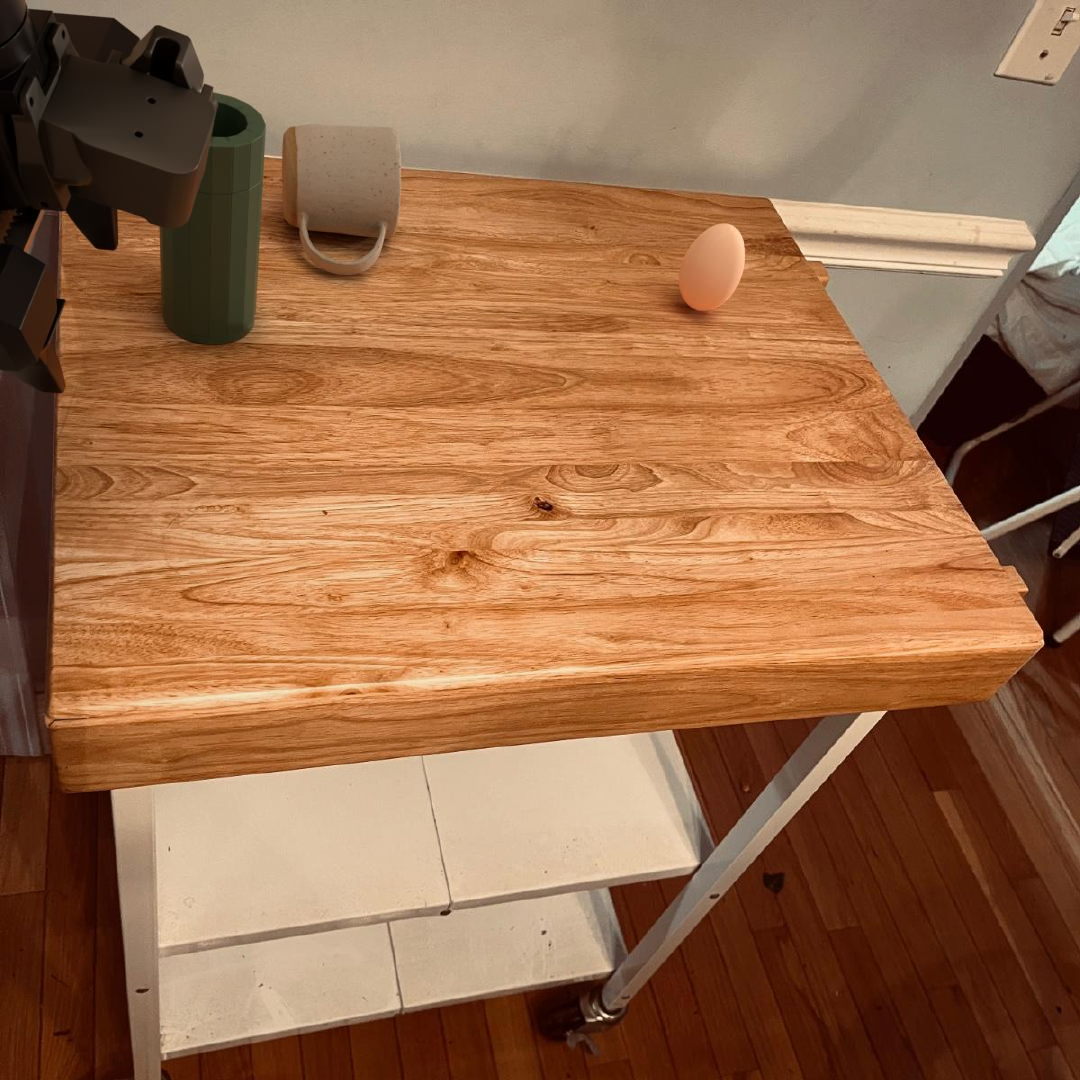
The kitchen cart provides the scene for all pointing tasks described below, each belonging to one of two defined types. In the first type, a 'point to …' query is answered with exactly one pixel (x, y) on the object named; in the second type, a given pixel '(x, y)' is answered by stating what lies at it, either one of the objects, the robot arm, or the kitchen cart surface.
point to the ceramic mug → (342, 186)
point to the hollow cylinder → (218, 235)
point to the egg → (712, 267)
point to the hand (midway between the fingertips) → (81, 315)
